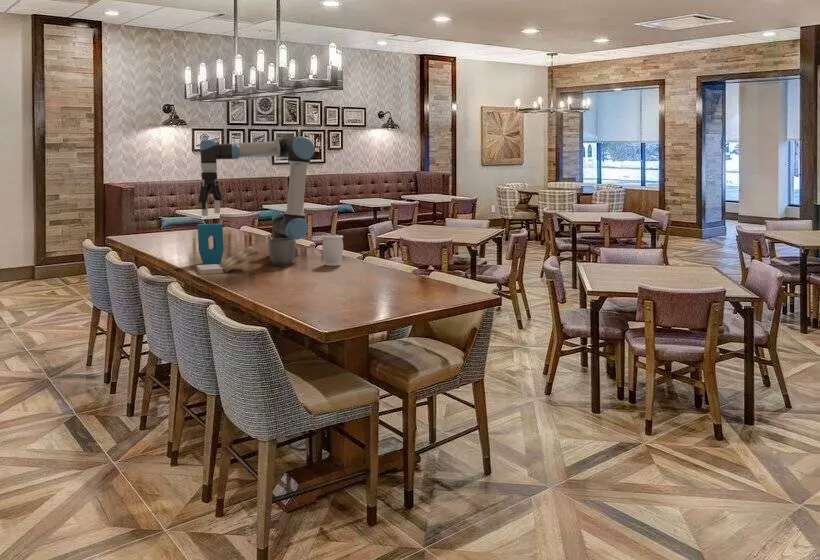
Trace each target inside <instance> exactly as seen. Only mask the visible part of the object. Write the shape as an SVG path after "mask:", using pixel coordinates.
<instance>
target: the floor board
mask: <svg viewBox="0 0 820 560" xmlns="http://www.w3.org/2000/svg"><path fill="white" fill-rule="evenodd" d="M196 271H198V273H199V274H200V275H206V274H207V275H209V274H223V273H224V274H225V271H224V270H223V269H222V268H221V267H220V266H219V264H197V265H196Z"/></svg>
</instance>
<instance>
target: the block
mask: <svg viewBox="0 0 820 560" xmlns="http://www.w3.org/2000/svg"><path fill="white" fill-rule="evenodd" d="M210 237H212V242H213V244H212V245H213V246H212V248H210V247H209V239H210ZM197 241H198V242H197V243H198V253H199V256H200V258H201V259H200V260H201V262H202V265H211V264H218V265H219V264H220V263H222V259H223V255H224V251H225V250H224V249H225V248H224V246H225V245H224V224H222V223H205V224H204V223H202V224H201V223H200V224H197Z"/></svg>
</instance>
